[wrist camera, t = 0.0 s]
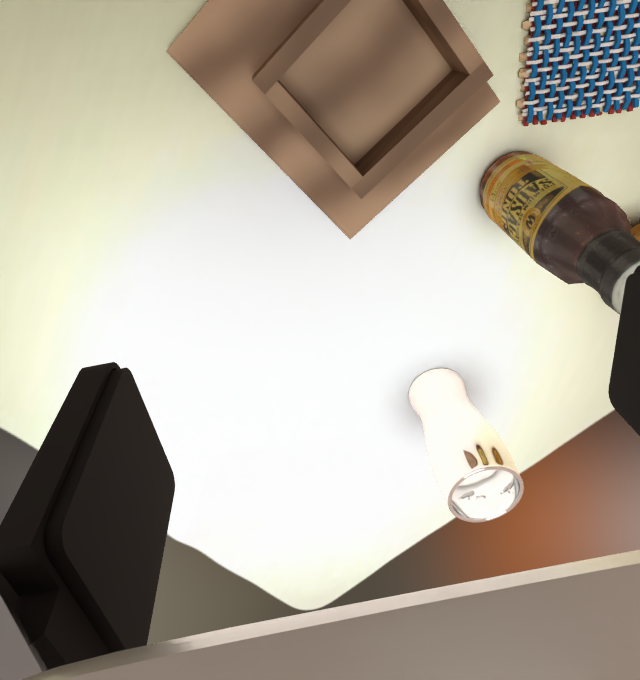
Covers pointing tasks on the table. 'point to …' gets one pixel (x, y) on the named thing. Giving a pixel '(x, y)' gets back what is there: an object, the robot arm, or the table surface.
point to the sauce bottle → (562, 223)
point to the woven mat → (580, 59)
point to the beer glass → (464, 449)
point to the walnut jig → (341, 90)
